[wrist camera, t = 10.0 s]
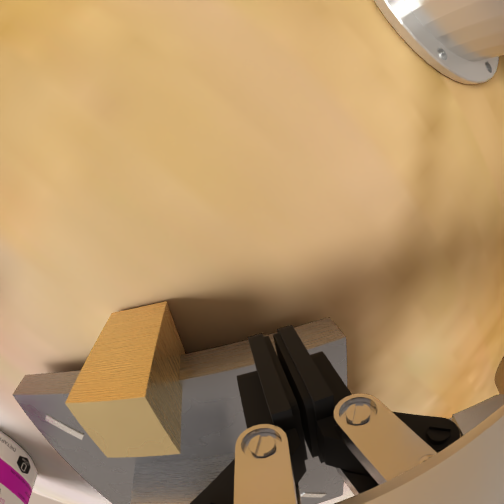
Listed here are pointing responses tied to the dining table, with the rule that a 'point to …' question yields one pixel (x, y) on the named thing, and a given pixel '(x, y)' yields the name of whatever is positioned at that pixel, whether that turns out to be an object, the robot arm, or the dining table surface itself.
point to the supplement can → (15, 472)
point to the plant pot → (500, 377)
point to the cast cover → (176, 479)
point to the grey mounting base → (159, 402)
